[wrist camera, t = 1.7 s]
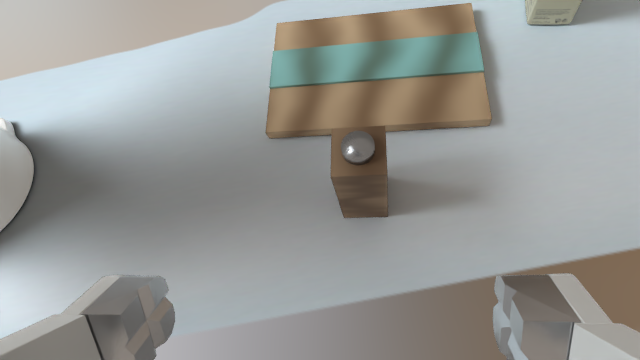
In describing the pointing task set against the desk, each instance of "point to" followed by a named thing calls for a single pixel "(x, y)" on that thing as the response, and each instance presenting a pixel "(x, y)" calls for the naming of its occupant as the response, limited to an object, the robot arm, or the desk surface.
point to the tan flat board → (378, 73)
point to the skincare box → (551, 11)
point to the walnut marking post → (360, 171)
